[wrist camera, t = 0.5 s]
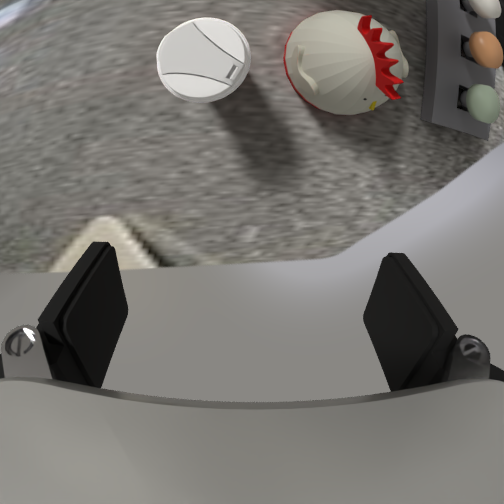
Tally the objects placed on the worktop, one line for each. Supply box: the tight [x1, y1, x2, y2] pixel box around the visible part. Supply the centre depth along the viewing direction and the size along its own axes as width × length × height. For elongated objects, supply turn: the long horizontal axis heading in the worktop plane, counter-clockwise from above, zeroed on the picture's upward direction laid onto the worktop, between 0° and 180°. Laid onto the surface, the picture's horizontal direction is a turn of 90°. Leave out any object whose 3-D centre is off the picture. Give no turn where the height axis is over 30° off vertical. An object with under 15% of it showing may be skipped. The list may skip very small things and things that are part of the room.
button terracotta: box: [463, 32, 503, 68], centre depth 23 cm, size 5×5×5 cm
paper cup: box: [156, 18, 251, 103], centre depth 25 cm, size 8×8×14 cm
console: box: [420, 0, 496, 141], centre depth 26 cm, size 26×12×3 cm, turn 178°
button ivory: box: [462, 0, 501, 19], centre depth 19 cm, size 5×5×5 cm
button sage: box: [460, 84, 500, 124], centre depth 27 cm, size 5×5×5 cm
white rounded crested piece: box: [284, 10, 409, 115], centre depth 24 cm, size 14×14×15 cm
